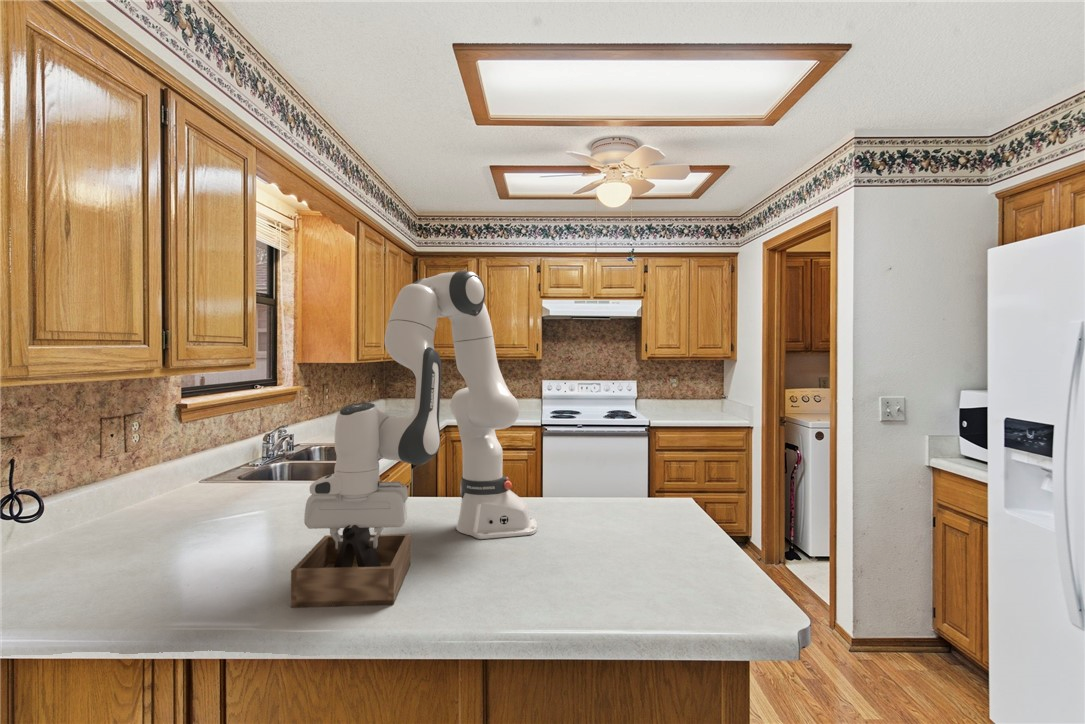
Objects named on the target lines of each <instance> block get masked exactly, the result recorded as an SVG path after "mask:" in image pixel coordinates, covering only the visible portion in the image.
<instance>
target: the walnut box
mask: <svg viewBox="0 0 1085 724" xmlns="http://www.w3.org/2000/svg"><path fill="white" fill-rule="evenodd" d="M339 535H340V537H341V538H343V534H339ZM370 535H371V538H374V537H375V535H376V534H370ZM411 537H412V534H411V533H406V534H405V533H399V534H397V533H395V534H394V533H393V534H392V533H391V534H390V533H389V534H388V533H387V534H380V535H379V537H378V546H377V548H375V550H376V552H377V555H378V558H379V561H380V564H381V567H358V564H357V560H356V556H355V557H354V561H353V565H352V567H342V568H334V566H335V563H336V560H337V557H338V554H339V551H340V549H336V548H335V541H334V539H333V538H332V536H331V534H330V535H324V536H323V537H322V538H320V540H319V541H318V542H317V543H316V544H315V545H314V546H313V547H312V548H311V549H310V550H309V551H308V553H306V555H305V556H304V557H303V558H302V559H301V560H300V561H299V562H298V563H297V564H296V565H295V566H294V567H293V568H292V569H291V570H290V608H320V607H321V608H322V607H323V608H327V607H356V606H357V607H359V606H361V607H362V606H363V607H364V606H393V605H395V602H396V600H397V597H398V595H399V594H400V590H401V588H402V586H403V583H404V580H405V579H406V576H407V573H408V571H409V569H410V567H411V557H412V556H411V544H412V541H411V540H412V538H411Z"/></svg>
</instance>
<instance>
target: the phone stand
mask: <svg viewBox="0 0 1085 724" xmlns="http://www.w3.org/2000/svg"><path fill="white" fill-rule="evenodd" d="M348 527H350V525H348V526H347V527H345V528H342V535H343V542H342V545H341V548H340V551H339V554H338V557H337V560H336V563H335V566H334V568H342V567H352V565H353V561H354V557H355V556H356V560H357V564H358V567H381V564H380V561H379V558H378V555H377V552H376V550H375V548H369V540H370V538H371V535H372V534H371V532H370V528H359V527H358V526H357V525H353V526H352V527H351V528H348Z"/></svg>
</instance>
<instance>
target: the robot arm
mask: <svg viewBox="0 0 1085 724" xmlns="http://www.w3.org/2000/svg"><path fill="white" fill-rule="evenodd" d="M485 298H486V288H485V285H484V283H483V280H482V279H481V278H480V276H479V275H478V273H475V272H474V271H471V270H458V271H454V272H453V271H449V272H442V273H439V274H435V275H434V276H429V277H427V278H426V277H425V278H420V279H418V280H416V281H414V282H413V283H410V284H406V285H404V287H402V288H401V289H400V291H399V292H398V295H397V296H396V299H395V301H394V303H393V306H392V309H391V310H390V311H391V312H390V315H389V319H388V320H387V321H388V322H387V326H386V330H385V333H384V347H385V350H386V352H387V353H388V355H389V357H391V359H392V360H394V361H395V362H397V363H398V364H399V365H401V366H403V367H405V368H407V369H409V370H410V371H412V372H413V375H414V376H415V383H416V384H415V397H414V408H413V409H414V411H413V414H412V415H411V416H410V417H406V416H396V415H390V414H387V413H385V412H382V411H381V410H379V409H378V408H377V405H376V404H374V403H371V402H358V403H352V404H347V405H345V406H343V407H342V408H341V409H339V411H338V414H337V416H336V421H335V429H334V451H335V453H336V456H335V457H336V461H335V464H334V473H331V474H328V475H325V476H321V477H320V478H318V479H316V480H314V481H313V482H312V483H311V485H310V486H309V493H310V496H309V497H308V498H307V499H306V503H305V508H304V519H303V520H304V525H305V526H306V528H307V529H313V530H314V529H317V530H318V529H329V534H330V535H331V536H332V538H333V539H334V541H335V548H336V549H340V548H341V545H342V542H343V538H341V537H340V535H341V534H340V533H339V531H340V529H344V528H345V527H347V526H348V525H350V527H348V528H351V527H352V526H353V525H357V526H358V527H359V528H369V529H371V528H374V529H373V532H374V533H375V534H374V535H375V537H374V538H370V540H369V548H377V546H378V537H379V535H382V534H381V533H382V532H383V530H384V528H402V527H403V526H404V524H405V523H406V522H407V520H408V519H407V518H408V512H407V511H408V507H407V500H408V498H409V489H408V487H407V485H406V484H404V483H402V482H401V481H397V480H395V481H383V480H382V481H380V461H379V460H380V459H382V460H388V461H396V462H403V463H406V464H410V465H415V466H423V465H425V464H427V463H428V462H429V461H431V460H432V459H433V458H434V457H435V456H436V455H437V453H438V452H439V449H440V446H441V438H442V437H441V430H440V429H441V428H440V408H441V407H440V406H441V405H440V404H441V388H442V360H441V356H440V354H439V352H438V351H437V350H435V342H434V339H435V333H436V329H437V321H438V318H448V319H449V321H450V322H451V335H452V343H453V349H454V357H455V362H456V363H455V364H456V368H457V371H458V372H459V374H460V375H461V376H462V378H463V380H464V381H465V384H466V387H464V388H460V389H458V390H456V392H455V393H454V394H453V395H452V396H451V400H450V405H449V406H450V411H451V413H452V415H453V417H454V418H455V420H456V425H457V429H458V432H459V438H460V442H461V448H462V476H461V478H460V492H459V493H460V497H461V503H460V510H459V515H458V519H457V523H456V526H455V528H456V530H457V532H458V533H461V534H464V535H468V536H471V537H473V538H475V539H478V540H484V539H485V540H486V539H496V538H508V537H519V536H530V535H533V534H535V533H536V532H537V531H538V522H537V520H536V519H535V518H534V517H533V516H531V515H530V510H529V506H528V504H527V502H526V501H525V500H524V498H521V497H520V496H518V494H516V493H515V492H513V491H512V490H511V488H512V482H511V481H510V479H509V477H508V476H504V475H503V470H504V468H503V463H504V462H503V458H504V457H503V456H504V454H503V453H504V451H503V448H502V445H501V443H500V442H499V440H498V437H497V434H496V430H498V431H499V430H505V429H508V428H510V427H512V426H513V425H514V424H515V423H516V421H517V419H518V417H519V414H520V404H519V402H518V400H517V398H516V397H515V396H514V395H513V394H512V393H511V391H510V389H509V387H508V386H507V384H506V381H505V379H504V377H503V375H502V372H501V369H500V366H499V362H498V358H497V357H498V356H497V352H496V345H495V339H494V332H493V326H492V322H491V318H490V314H489V311H488V309H487V306H486V304H485V301H486V299H485Z"/></svg>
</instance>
